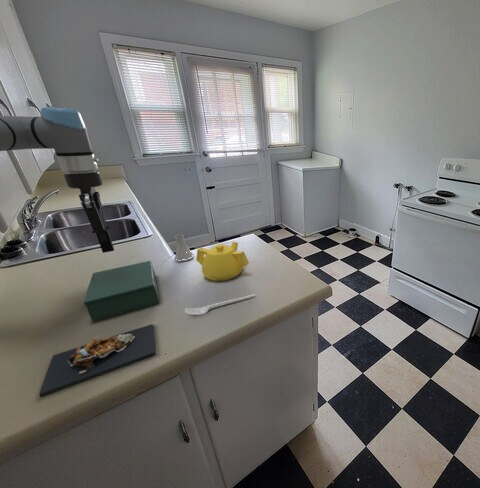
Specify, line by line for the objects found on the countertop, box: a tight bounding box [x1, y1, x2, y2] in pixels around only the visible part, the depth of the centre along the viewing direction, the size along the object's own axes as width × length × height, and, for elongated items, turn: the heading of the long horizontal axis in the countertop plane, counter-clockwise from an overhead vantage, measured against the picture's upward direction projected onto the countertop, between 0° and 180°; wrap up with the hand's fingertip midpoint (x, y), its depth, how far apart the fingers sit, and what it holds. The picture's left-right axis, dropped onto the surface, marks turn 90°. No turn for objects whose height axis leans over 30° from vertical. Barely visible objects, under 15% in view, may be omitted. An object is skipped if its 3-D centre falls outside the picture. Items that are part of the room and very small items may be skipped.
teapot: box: [195, 241, 249, 282], centre depth 99 cm, size 20×18×11 cm
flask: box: [174, 234, 195, 263], centre depth 109 cm, size 7×7×10 cm
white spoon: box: [183, 293, 256, 316], centre depth 81 cm, size 3×20×2 cm, turn 118°
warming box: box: [85, 264, 160, 322], centre depth 85 cm, size 19×16×6 cm
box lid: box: [83, 260, 154, 306], centre depth 83 cm, size 20×16×1 cm
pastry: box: [68, 334, 135, 375], centre depth 63 cm, size 7×12×4 cm, turn 153°
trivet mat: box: [38, 323, 157, 397], centre depth 63 cm, size 20×12×1 cm, turn 123°
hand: (108, 250), depth 82 cm, fingers closed
